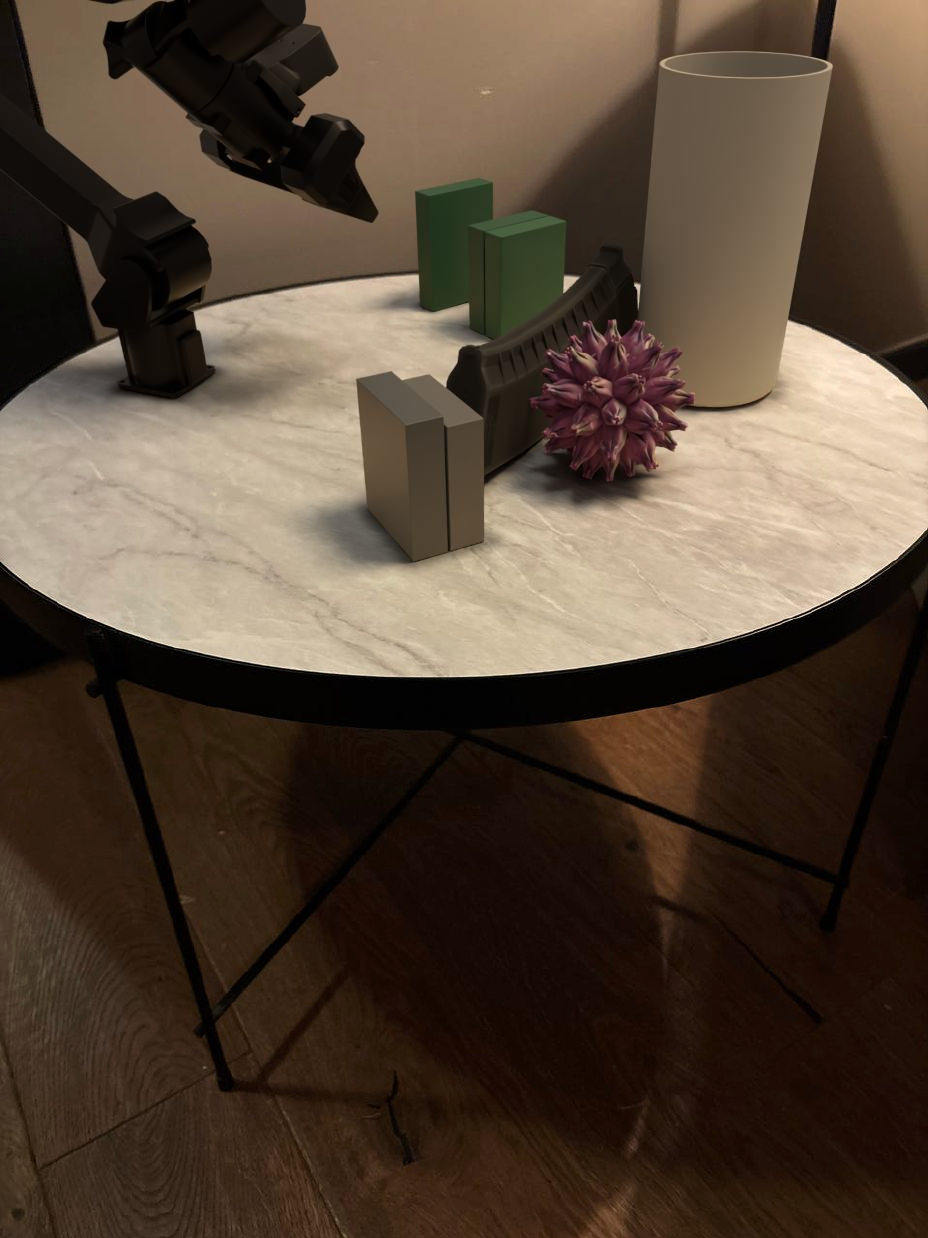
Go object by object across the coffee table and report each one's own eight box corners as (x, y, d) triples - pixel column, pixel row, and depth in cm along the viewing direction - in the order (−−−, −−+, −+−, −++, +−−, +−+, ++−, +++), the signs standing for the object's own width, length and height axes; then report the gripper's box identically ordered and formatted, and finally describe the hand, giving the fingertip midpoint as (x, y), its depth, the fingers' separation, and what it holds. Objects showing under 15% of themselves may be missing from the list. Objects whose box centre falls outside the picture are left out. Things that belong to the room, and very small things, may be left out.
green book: (432, 311, 106) (428, 195, 99) (419, 305, 107) (414, 190, 100) (493, 294, 109) (493, 181, 103) (479, 289, 111) (478, 177, 104)
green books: (500, 342, 98) (500, 236, 92) (469, 328, 102) (467, 224, 96) (562, 323, 102) (566, 220, 96) (530, 310, 105) (532, 209, 100)
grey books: (366, 508, 74) (355, 378, 68) (434, 490, 76) (428, 362, 70) (413, 562, 68) (405, 425, 62) (484, 541, 70) (483, 406, 64)
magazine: (453, 399, 67) (635, 164, 81) (412, 389, 68) (598, 159, 83) (490, 569, 80) (641, 340, 95) (455, 558, 82) (609, 334, 96)
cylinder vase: (634, 408, 86) (663, 78, 71) (630, 351, 96) (656, 51, 81) (785, 413, 85) (847, 78, 70) (766, 355, 95) (817, 50, 80)
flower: (517, 469, 81) (643, 410, 84) (596, 534, 72) (734, 466, 75) (487, 335, 74) (625, 276, 76) (570, 389, 65) (724, 319, 67)
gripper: (330, -7, 70) (461, 143, 82) (210, -23, 82) (339, 110, 94) (243, 135, 71) (386, 262, 83) (137, 98, 83) (275, 214, 95)
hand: (345, 206), depth 88 cm, fingers open, 9 cm apart
